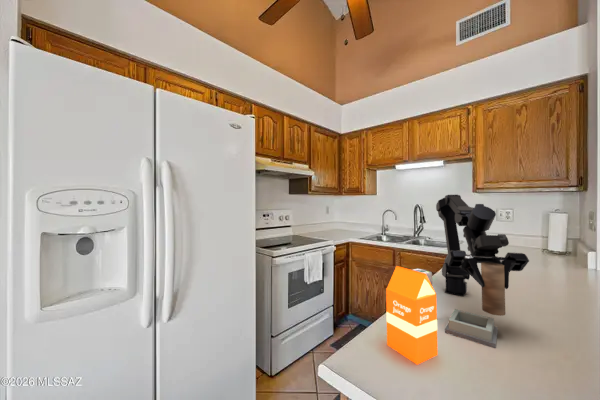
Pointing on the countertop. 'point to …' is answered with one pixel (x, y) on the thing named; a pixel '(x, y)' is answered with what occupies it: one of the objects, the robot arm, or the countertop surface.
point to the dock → (473, 327)
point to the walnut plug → (493, 288)
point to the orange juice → (411, 315)
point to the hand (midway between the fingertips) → (495, 287)
